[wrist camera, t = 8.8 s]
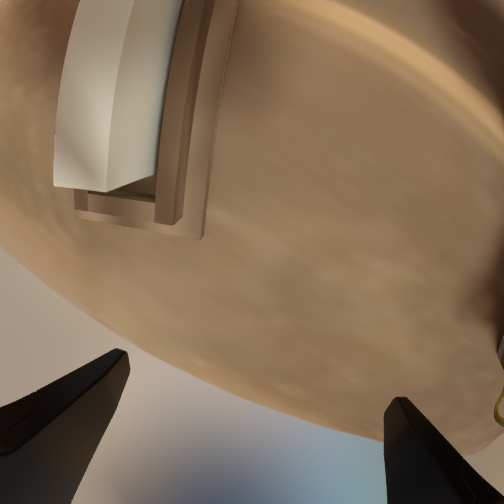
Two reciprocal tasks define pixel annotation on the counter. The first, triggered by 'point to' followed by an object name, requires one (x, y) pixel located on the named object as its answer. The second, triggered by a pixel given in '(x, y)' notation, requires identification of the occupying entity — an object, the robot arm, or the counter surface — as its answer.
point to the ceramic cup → (503, 357)
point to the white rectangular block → (114, 92)
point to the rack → (178, 133)
